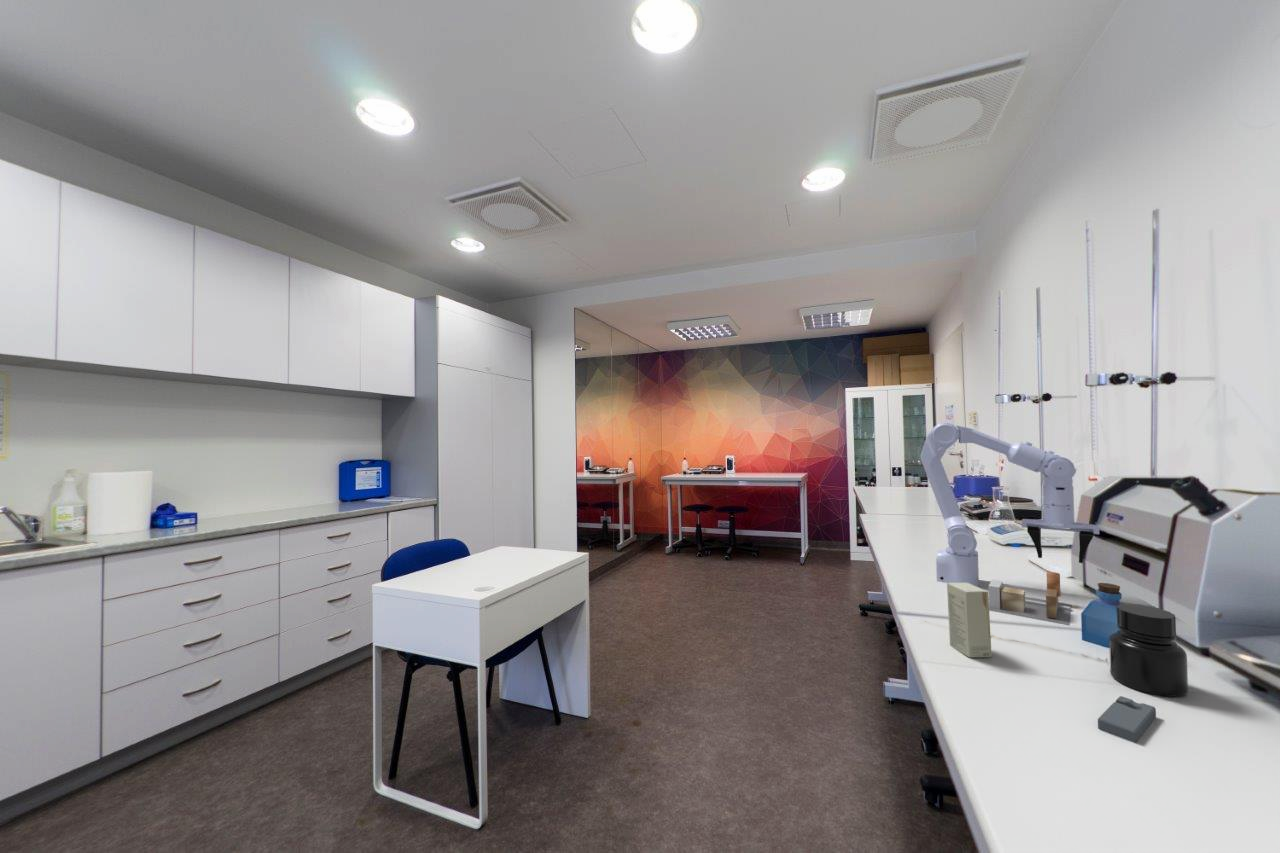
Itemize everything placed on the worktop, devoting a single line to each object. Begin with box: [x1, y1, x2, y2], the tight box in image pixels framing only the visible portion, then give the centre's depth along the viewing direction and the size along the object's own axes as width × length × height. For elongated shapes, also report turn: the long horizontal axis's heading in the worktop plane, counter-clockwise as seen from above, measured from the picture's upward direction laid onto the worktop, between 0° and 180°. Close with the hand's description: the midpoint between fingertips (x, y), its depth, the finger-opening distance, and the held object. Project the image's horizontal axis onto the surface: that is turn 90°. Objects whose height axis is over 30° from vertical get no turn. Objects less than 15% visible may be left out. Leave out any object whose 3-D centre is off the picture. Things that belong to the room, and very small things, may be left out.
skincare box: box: [946, 583, 993, 658], centre depth 94 cm, size 6×4×12 cm
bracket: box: [1097, 695, 1157, 744], centre depth 70 cm, size 4×10×2 cm, turn 123°
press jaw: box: [1045, 571, 1061, 618], centre depth 111 cm, size 2×13×7 cm, turn 138°
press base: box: [988, 579, 1072, 627], centre depth 113 cm, size 14×16×6 cm
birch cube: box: [1001, 586, 1026, 613], centre depth 113 cm, size 4×4×4 cm
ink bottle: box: [1108, 603, 1189, 697], centre depth 81 cm, size 10×9×12 cm
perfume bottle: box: [1080, 582, 1126, 649], centre depth 94 cm, size 6×6×12 cm
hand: (1060, 559), depth 122 cm, fingers open, 7 cm apart
